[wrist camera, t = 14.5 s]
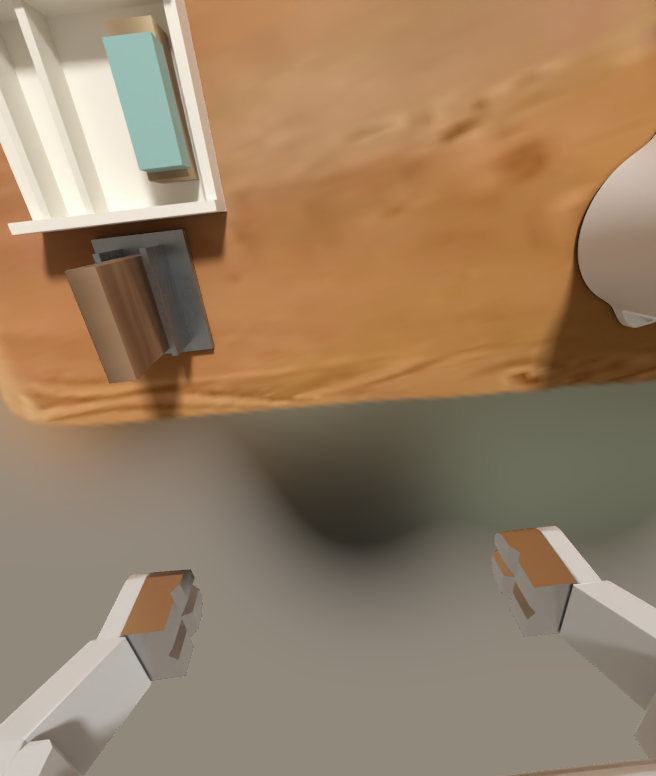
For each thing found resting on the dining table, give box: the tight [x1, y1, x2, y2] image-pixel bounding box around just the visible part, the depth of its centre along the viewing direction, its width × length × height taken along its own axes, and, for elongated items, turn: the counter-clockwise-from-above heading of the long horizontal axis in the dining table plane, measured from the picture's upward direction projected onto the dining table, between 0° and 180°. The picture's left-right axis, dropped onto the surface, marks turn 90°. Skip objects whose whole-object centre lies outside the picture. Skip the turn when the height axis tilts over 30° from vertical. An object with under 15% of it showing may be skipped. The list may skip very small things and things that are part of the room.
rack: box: [0, 0, 227, 235], centre depth 27 cm, size 16×14×4 cm
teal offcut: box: [102, 31, 191, 173], centre depth 25 cm, size 3×7×2 cm, turn 6°
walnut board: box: [64, 254, 170, 383], centre depth 30 cm, size 2×8×10 cm, turn 6°
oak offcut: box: [105, 15, 200, 184], centre depth 27 cm, size 3×9×3 cm, turn 6°
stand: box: [91, 229, 214, 356], centre depth 33 cm, size 8×11×5 cm
